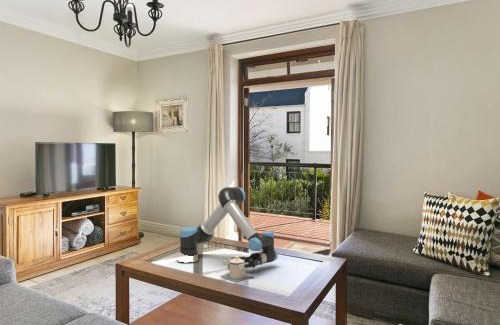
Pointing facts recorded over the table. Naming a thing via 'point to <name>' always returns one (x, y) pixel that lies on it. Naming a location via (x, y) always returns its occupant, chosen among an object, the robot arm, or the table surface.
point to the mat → (235, 279)
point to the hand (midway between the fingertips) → (231, 264)
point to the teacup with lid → (235, 268)
